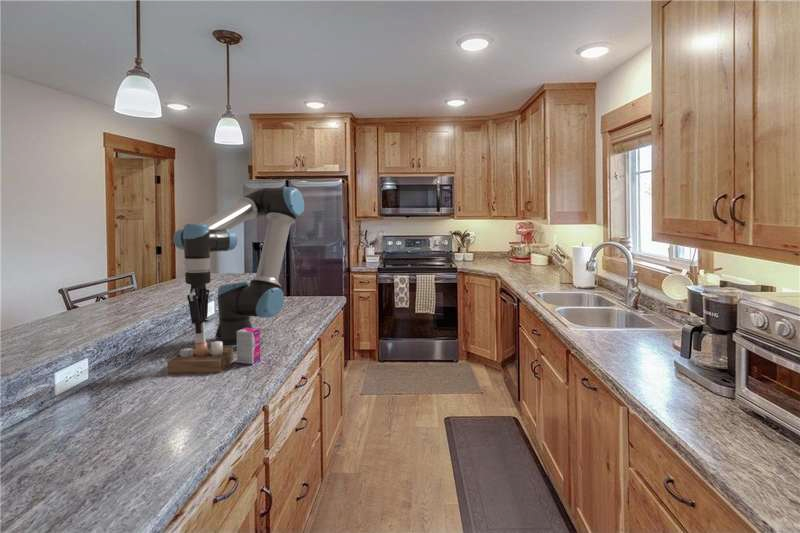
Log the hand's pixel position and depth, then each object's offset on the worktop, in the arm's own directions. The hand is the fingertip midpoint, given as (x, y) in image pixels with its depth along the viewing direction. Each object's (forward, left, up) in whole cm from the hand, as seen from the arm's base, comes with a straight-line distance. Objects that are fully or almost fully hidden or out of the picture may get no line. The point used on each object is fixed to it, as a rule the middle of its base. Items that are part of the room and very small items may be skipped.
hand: (200, 342), depth 151 cm
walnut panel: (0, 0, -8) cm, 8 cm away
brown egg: (0, 0, -4) cm, 4 cm away
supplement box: (-4, +15, -9) cm, 17 cm away
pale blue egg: (0, -5, -7) cm, 8 cm away
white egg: (0, +5, -4) cm, 7 cm away
